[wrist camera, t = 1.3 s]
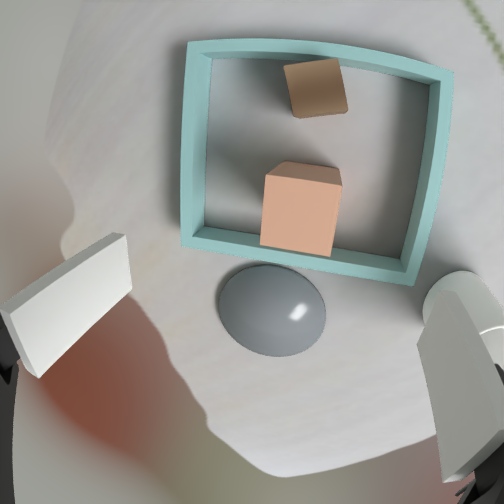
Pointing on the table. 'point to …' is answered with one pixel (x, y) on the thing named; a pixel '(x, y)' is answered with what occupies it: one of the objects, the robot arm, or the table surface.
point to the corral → (339, 259)
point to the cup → (474, 308)
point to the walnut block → (316, 88)
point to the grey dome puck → (272, 310)
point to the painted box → (301, 207)
